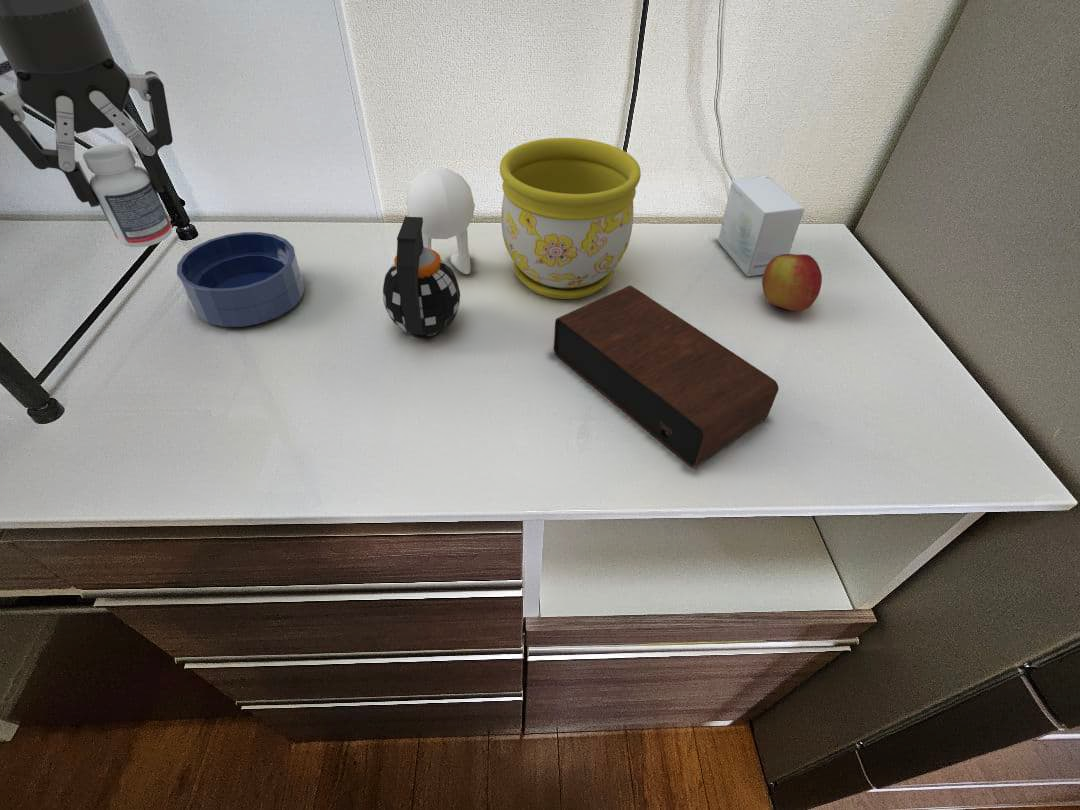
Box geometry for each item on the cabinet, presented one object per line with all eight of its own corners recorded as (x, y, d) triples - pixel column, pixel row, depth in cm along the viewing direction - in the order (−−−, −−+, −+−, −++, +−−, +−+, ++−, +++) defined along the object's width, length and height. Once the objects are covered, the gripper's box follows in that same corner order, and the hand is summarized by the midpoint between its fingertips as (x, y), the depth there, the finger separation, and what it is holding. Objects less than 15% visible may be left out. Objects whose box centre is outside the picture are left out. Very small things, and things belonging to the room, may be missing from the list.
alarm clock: (765, 422, 71) (780, 383, 66) (694, 470, 65) (707, 432, 61) (621, 320, 84) (627, 282, 79) (553, 353, 78) (555, 315, 74)
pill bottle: (184, 230, 67) (149, 146, 60) (144, 253, 63) (102, 168, 57) (148, 218, 68) (110, 136, 62) (106, 241, 65) (62, 156, 58)
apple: (815, 300, 88) (836, 249, 83) (804, 330, 83) (825, 278, 78) (762, 284, 91) (778, 234, 85) (747, 313, 86) (764, 262, 80)
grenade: (455, 361, 77) (445, 253, 66) (378, 357, 77) (356, 249, 66) (466, 306, 85) (459, 202, 74) (396, 304, 85) (379, 199, 74)
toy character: (467, 250, 95) (461, 152, 85) (485, 282, 89) (482, 181, 79) (408, 261, 92) (394, 161, 82) (423, 294, 87) (411, 191, 76)
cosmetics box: (714, 241, 99) (730, 177, 92) (751, 237, 100) (770, 174, 93) (745, 277, 92) (764, 211, 85) (784, 273, 93) (807, 207, 86)
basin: (177, 330, 79) (158, 291, 75) (213, 269, 89) (199, 231, 85) (291, 330, 80) (279, 290, 76) (314, 269, 90) (305, 232, 86)
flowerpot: (588, 234, 100) (597, 129, 88) (649, 293, 88) (669, 181, 77) (482, 257, 94) (478, 148, 82) (533, 324, 82) (536, 208, 71)
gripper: (125, -20, 55) (195, 166, 68) (-74, -2, 50) (42, 198, 62) (138, -1, 51) (211, 194, 63) (-78, 21, 45) (47, 231, 57)
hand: (127, 195), depth 62 cm, fingers closed on pill bottle, 5 cm apart
